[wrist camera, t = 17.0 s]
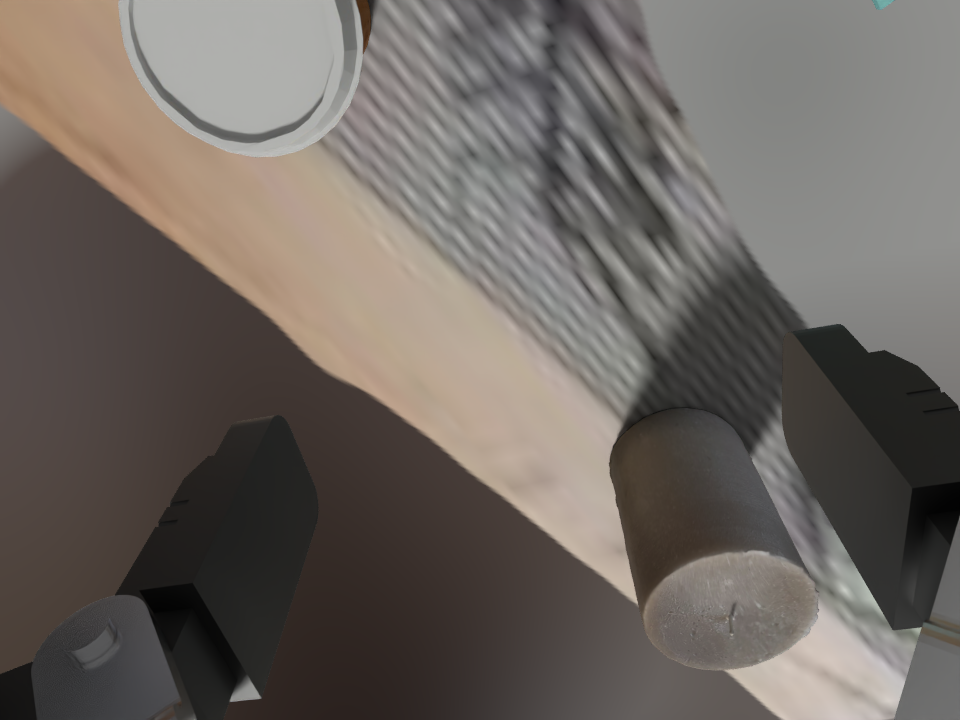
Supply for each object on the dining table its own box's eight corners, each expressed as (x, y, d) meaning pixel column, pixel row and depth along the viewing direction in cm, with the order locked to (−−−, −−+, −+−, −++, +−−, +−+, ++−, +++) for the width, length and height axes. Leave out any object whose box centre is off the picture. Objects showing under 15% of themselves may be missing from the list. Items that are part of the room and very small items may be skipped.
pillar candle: (602, 509, 53) (634, 689, 40) (617, 402, 48) (659, 567, 35) (730, 514, 53) (805, 696, 40) (759, 406, 48) (855, 574, 35)
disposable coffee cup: (368, 138, 40) (317, 200, 29) (205, 67, 38) (90, 106, 28) (427, -38, 35) (391, -39, 25) (245, -126, 34) (125, -166, 23)
